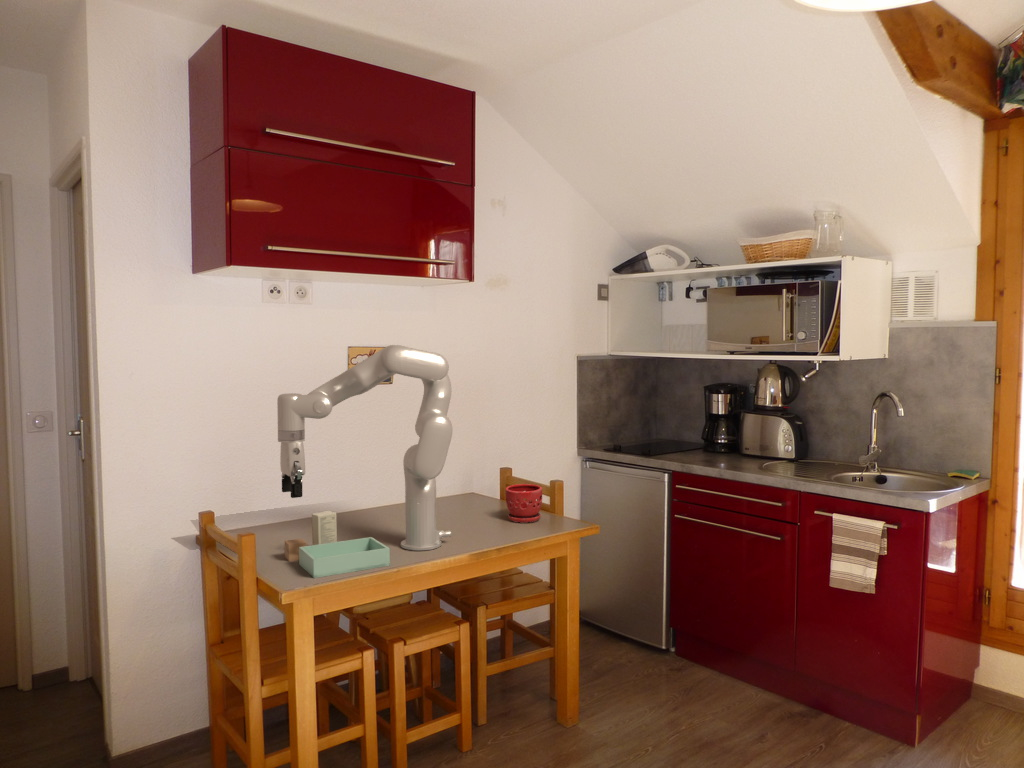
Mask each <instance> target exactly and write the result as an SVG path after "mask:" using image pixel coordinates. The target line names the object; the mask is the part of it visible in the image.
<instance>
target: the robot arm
mask: <svg viewBox="0 0 1024 768" xmlns="http://www.w3.org/2000/svg"><path fill="white" fill-rule="evenodd" d="M449 367H450V365H449V361H448V360H447V358H446V357H445V356H444V355H442V354H440V353H437V352H433V351H427V350H423V349H417V348H412V347H408V346H405V345H400V344H397V345H396V344H392V345H388V346H386V347H383V348H382V349H379V351H376V352H375V353H373V354H372V355H370V356H368V357H367V358H365V359H364V360H362V361H360V362H359V363H357V364H355V365H354V366H352V367H350V368H349V369H346V370H345V371H343V372H341V374H339V375H337V376H335V377H332V379H330V380H328V381H327V382H325V383H323V384H321V385H320V386H318V387H316V388H315V389H313V390H311V391H310V392H309V393H308V394H301V393H293V392H292V393H282V394H279V395H278V396H277V402H276V403H277V442H278V443H280V454H279V455H280V458H279V459H280V461H279V463H280V471H281V492H282V493H289V492H290V498H291V499H297V498H303V476H305V474H306V459H305V448H304V442H305V440H306V438H305V437H306V436H305V435H306V434H305V432H306V430H305V427H306V426H305V424H306V422H305V419H306V418H309V419H317V420H319V419H320V420H321V419H324V418H326V417H328V416H329V415H330V414H331V412H332V411H333V408H334V407H335V406H337V405H338V404H340V403H342V402H344V401H346V400H347V399H350V398H352V397H355V396H360V395H362V394H364V393H366V392H369V391H370V390H372V389H374V388H375V387H377V386H379V385H380V384H381V383H383V382H384V381H386V380H388V379H390V378H391V377H393V376H395V375H396V374H397V375H399V376H400V375H401V376H404V377H405V376H406V377H408V378H415V379H419V380H421V381H422V385H423V395H422V400H421V404H420V407H419V411H418V414H417V417H416V420H415V424H414V425H415V426H414V429H415V433H416V435H417V436H418V437H419V438H418V442H417V444H414V445H411V446H410V447H409V448H408V449H406V451H405V453H404V456H403V460H402V461H403V464H402V465H403V475H404V487H405V488H404V489H405V490H404V491H405V492H404V493H405V495H404V497H405V499H404V500H405V502H404V503H405V504H404V505H405V510H404V511H405V539H403V540H401V542H400V547H401V548H402V549H405V550H408V551H419V552H420V551H422V552H423V551H430V550H434V549H439V548H440V547H441V546H442V545H443V544H442V540H441V539H443V538H448V537H451V536H452V532H451V530H445V531H444V530H442V529H441V530H439V529H437V479H436V478H437V477H438V476H439V475H440V474H441V472H442V471H443V468H444V466H445V463H446V460H447V456H448V452H449V449H450V445H451V441H452V438H453V423H452V421H451V420H450V418H449V417H448V413H449V408H450V403H451V397H452V383H451V379H450V376H449V374H448V373H449Z"/></svg>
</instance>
